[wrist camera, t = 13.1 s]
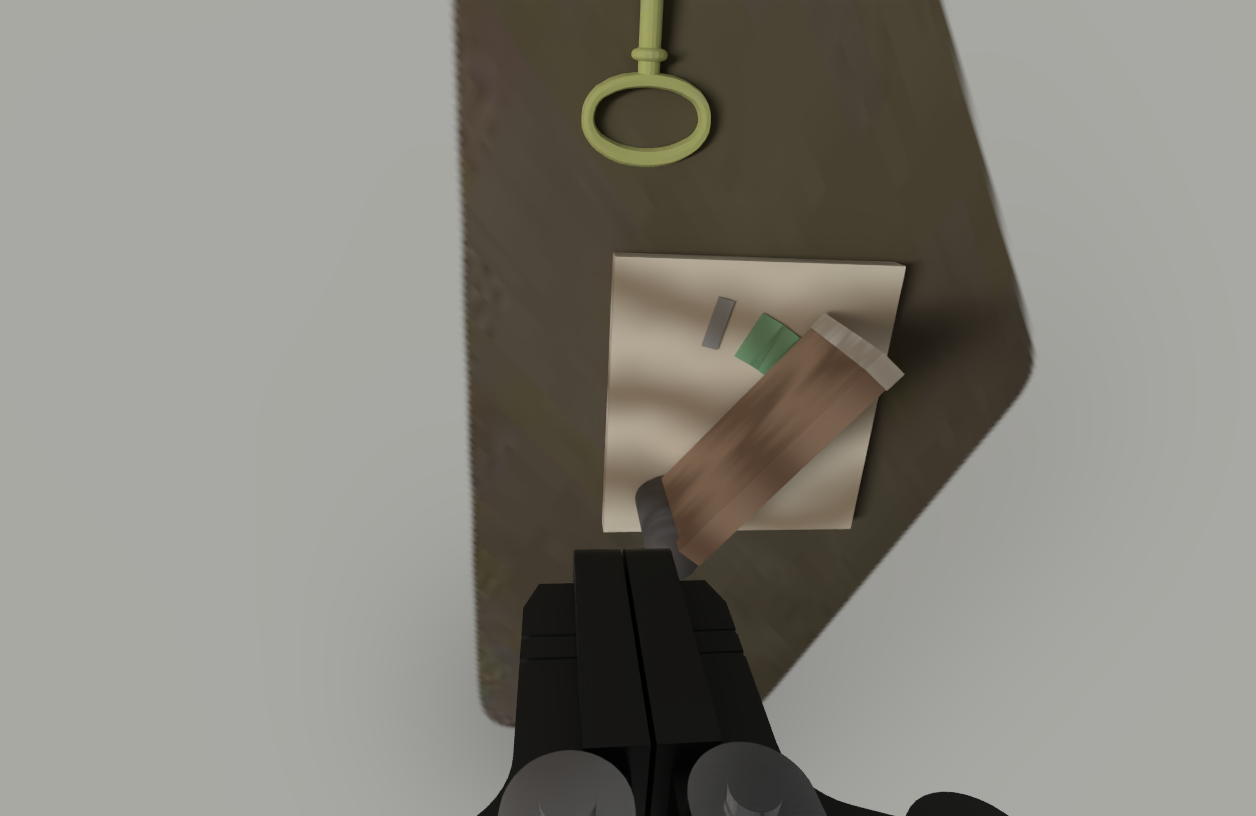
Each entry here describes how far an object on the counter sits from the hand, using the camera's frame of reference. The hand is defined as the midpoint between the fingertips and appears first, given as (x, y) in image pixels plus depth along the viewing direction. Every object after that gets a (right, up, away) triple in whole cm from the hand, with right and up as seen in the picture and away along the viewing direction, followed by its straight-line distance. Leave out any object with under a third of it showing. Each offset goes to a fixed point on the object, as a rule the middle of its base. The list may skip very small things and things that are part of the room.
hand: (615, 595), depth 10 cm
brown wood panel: (+7, +2, +33) cm, 33 cm away
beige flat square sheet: (+8, +4, +34) cm, 35 cm away
